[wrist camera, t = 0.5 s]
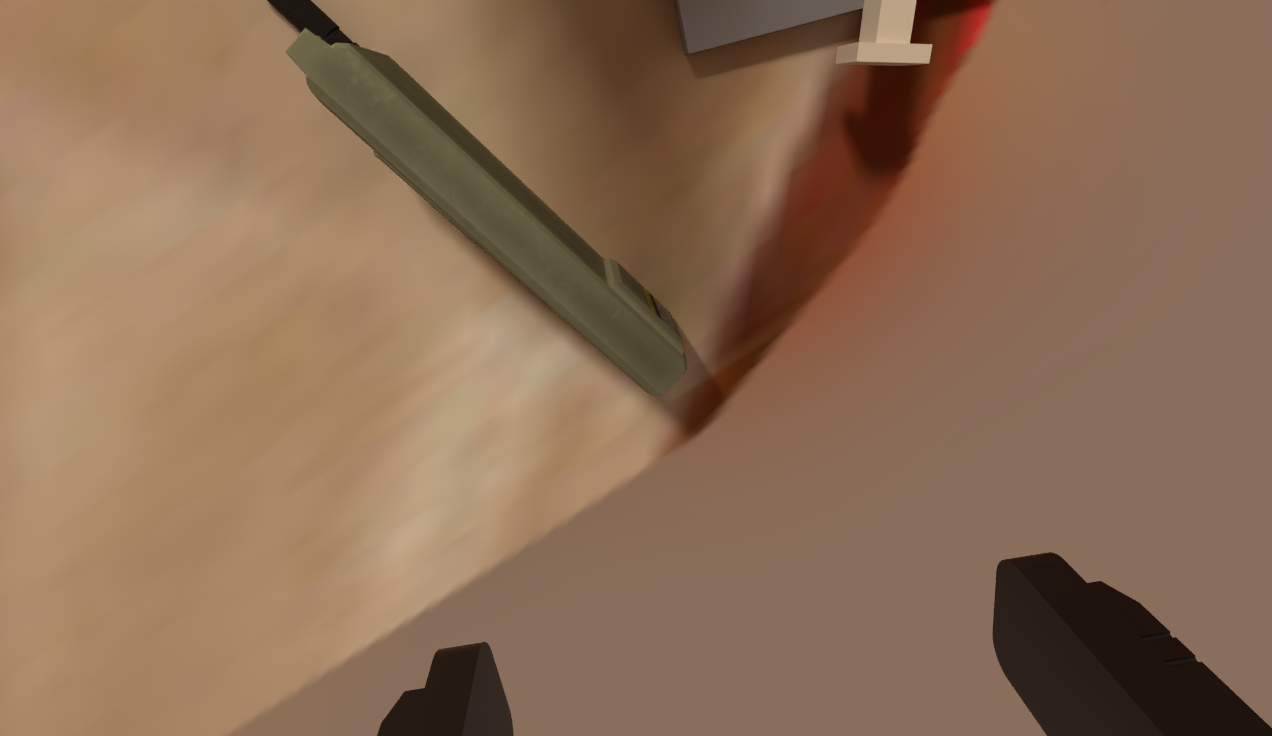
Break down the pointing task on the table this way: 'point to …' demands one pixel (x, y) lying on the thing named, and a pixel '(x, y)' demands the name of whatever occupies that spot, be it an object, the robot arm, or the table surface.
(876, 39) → the lever with orange pointer
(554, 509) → the table surface
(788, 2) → the gauge board
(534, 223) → the handheld radio
